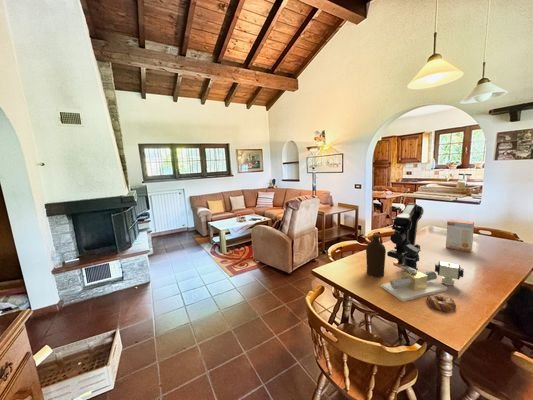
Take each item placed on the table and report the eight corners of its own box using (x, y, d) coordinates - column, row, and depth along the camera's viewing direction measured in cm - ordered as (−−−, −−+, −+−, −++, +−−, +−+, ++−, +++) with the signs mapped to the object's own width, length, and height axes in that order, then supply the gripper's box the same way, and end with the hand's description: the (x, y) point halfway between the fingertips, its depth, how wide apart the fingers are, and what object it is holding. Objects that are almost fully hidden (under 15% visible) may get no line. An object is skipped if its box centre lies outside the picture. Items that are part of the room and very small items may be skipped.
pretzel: (441, 297, 112) (442, 290, 111) (463, 311, 101) (464, 303, 100) (419, 300, 110) (420, 293, 109) (440, 314, 99) (440, 307, 99)
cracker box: (472, 250, 161) (474, 222, 158) (470, 252, 158) (472, 223, 154) (447, 245, 172) (449, 219, 169) (445, 247, 169) (447, 220, 165)
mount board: (381, 287, 123) (381, 284, 123) (421, 277, 130) (422, 275, 130) (403, 301, 109) (403, 298, 109) (446, 290, 116) (447, 287, 116)
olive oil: (374, 279, 131) (374, 238, 127) (362, 271, 141) (362, 232, 137) (389, 276, 133) (390, 235, 130) (376, 268, 144) (377, 230, 140)
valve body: (387, 286, 120) (387, 274, 119) (425, 277, 127) (426, 266, 125) (399, 295, 112) (400, 281, 111) (439, 284, 119) (440, 272, 118)
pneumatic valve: (434, 278, 128) (435, 258, 126) (461, 284, 120) (463, 263, 118) (433, 283, 123) (435, 262, 122) (462, 289, 116) (464, 267, 114)
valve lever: (393, 265, 128) (393, 262, 127) (396, 264, 129) (396, 261, 128) (414, 274, 117) (414, 270, 116) (418, 273, 118) (418, 269, 117)
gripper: (408, 247, 113) (407, 275, 116) (426, 238, 123) (425, 265, 125) (386, 241, 123) (386, 268, 125) (405, 233, 132) (404, 258, 135)
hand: (401, 265), depth 127 cm, fingers closed
